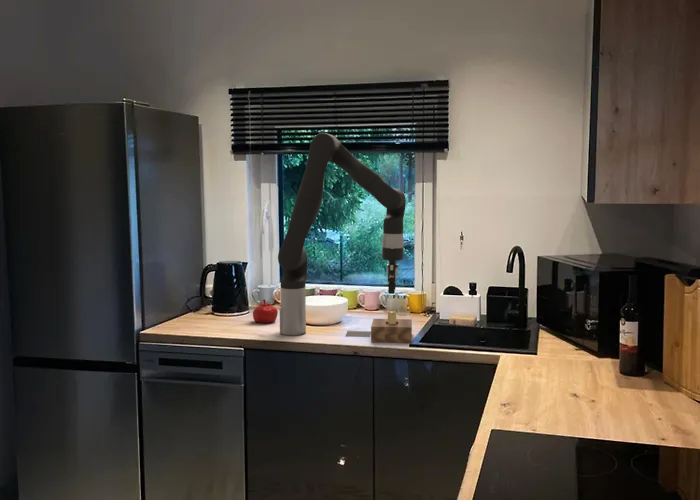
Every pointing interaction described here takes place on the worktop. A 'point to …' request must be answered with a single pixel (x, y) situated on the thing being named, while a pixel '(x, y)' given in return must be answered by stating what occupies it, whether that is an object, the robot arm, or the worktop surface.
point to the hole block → (391, 331)
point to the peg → (391, 317)
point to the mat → (358, 334)
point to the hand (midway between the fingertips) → (391, 291)
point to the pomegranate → (265, 313)
